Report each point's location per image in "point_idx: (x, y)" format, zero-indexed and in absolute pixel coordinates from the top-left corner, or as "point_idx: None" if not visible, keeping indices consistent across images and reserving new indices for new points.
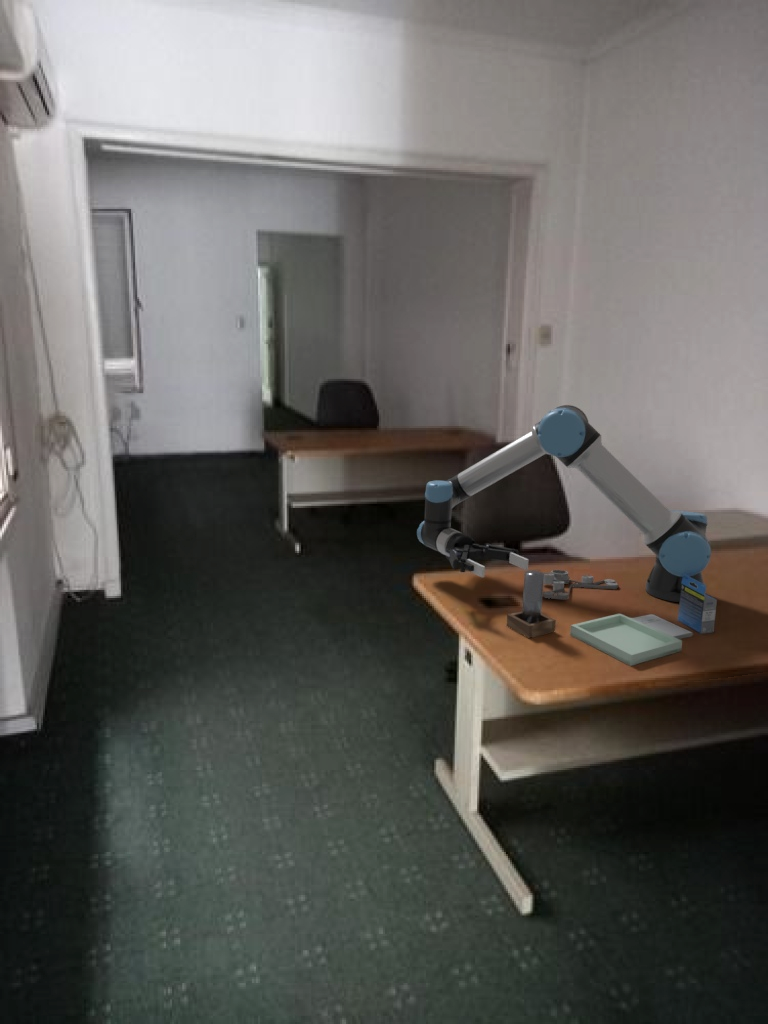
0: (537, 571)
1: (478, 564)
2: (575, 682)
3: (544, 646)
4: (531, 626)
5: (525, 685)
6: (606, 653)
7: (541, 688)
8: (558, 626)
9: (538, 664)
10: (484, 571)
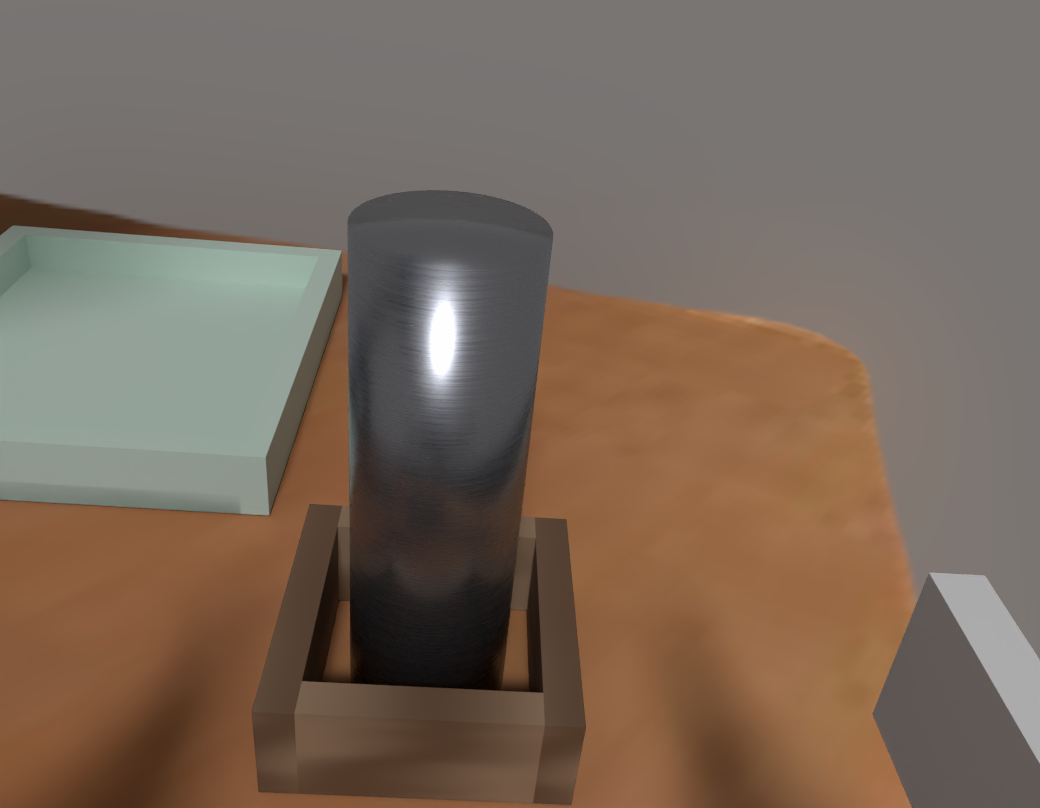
0: (374, 231)
1: (1037, 695)
2: (643, 318)
3: (539, 498)
4: (544, 523)
5: (848, 365)
6: (321, 357)
7: (796, 340)
8: (194, 621)
9: (699, 419)
10: (905, 642)
